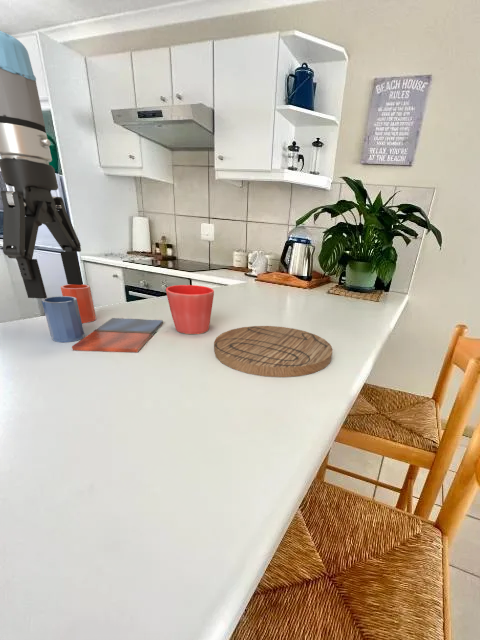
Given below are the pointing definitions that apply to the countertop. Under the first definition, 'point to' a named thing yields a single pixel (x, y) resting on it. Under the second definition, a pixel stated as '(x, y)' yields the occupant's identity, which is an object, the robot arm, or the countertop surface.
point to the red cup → (81, 300)
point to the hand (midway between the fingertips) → (58, 290)
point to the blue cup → (63, 318)
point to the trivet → (272, 351)
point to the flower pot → (190, 307)
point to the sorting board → (119, 335)
